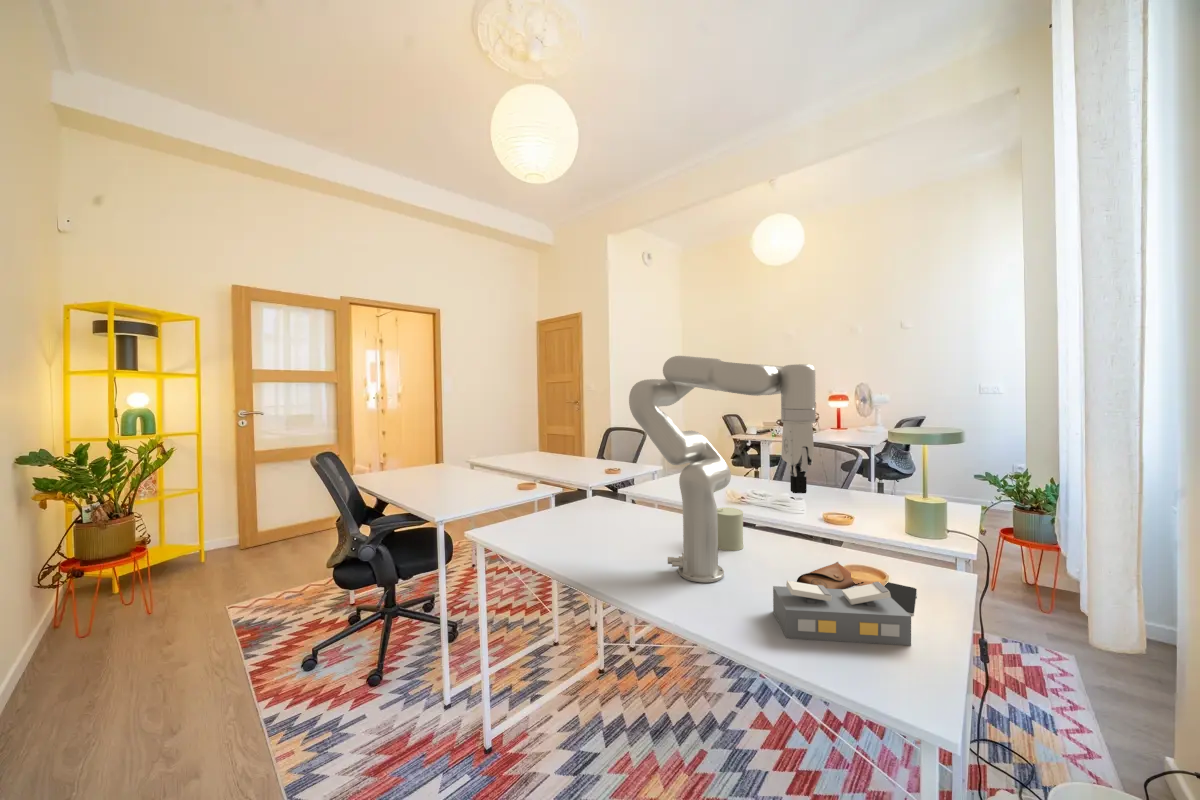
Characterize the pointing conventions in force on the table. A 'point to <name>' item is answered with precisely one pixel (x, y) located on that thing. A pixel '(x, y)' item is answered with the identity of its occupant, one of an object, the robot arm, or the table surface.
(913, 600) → the smartphone
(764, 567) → the table surface
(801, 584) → the rocker
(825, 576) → the sunglasses case
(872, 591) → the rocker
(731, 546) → the can
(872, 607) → the console
